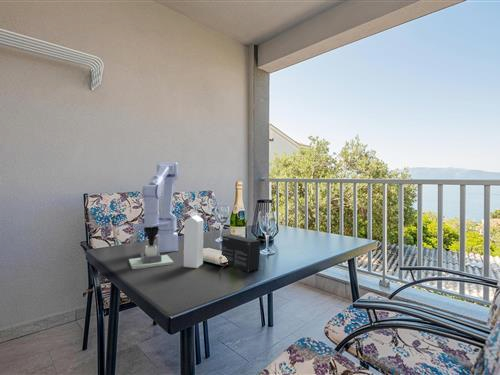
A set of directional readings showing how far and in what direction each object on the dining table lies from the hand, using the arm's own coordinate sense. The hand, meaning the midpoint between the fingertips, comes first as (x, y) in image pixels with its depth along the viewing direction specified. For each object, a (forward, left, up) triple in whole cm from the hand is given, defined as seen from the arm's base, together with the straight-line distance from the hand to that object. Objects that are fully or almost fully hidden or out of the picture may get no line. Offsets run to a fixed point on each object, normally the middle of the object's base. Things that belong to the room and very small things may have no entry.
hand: (151, 245), depth 118 cm
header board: (0, 0, -8) cm, 8 cm away
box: (-32, +20, -8) cm, 39 cm away
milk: (-15, +11, -8) cm, 20 cm away
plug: (0, 0, -6) cm, 7 cm away
